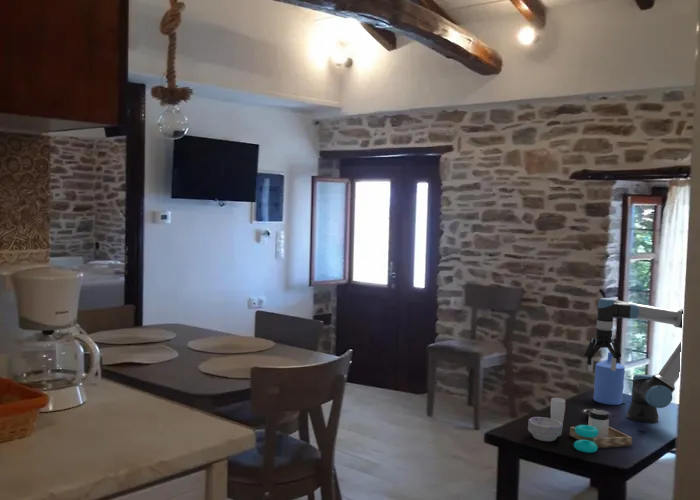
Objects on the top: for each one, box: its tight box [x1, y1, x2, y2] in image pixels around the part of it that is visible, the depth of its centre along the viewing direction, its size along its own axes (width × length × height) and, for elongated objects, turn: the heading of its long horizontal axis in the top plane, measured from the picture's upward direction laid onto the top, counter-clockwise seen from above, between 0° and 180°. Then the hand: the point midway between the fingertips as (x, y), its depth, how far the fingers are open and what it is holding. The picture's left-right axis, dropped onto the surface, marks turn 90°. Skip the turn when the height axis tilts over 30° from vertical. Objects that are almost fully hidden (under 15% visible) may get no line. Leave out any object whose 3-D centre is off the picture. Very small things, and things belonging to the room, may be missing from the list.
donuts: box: [573, 424, 599, 454], centre depth 299 cm, size 10×10×10 cm
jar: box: [587, 409, 610, 439], centre depth 314 cm, size 9×8×12 cm
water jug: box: [592, 352, 626, 406], centre depth 384 cm, size 16×16×28 cm
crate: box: [569, 426, 633, 449], centre depth 313 cm, size 20×18×4 cm
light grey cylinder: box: [550, 397, 566, 427], centre depth 326 cm, size 7×7×15 cm
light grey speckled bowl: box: [527, 416, 563, 442], centre depth 312 cm, size 15×15×8 cm
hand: (601, 371), depth 340 cm, fingers open, 13 cm apart
